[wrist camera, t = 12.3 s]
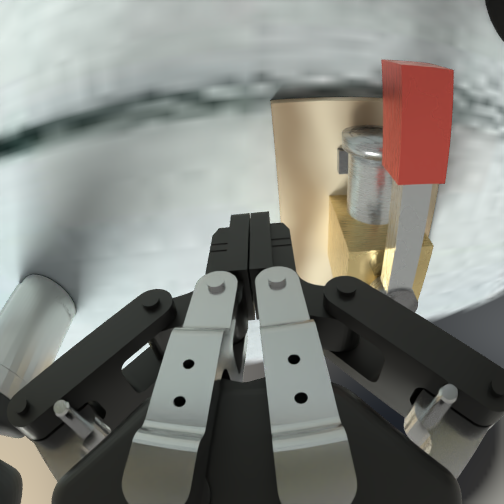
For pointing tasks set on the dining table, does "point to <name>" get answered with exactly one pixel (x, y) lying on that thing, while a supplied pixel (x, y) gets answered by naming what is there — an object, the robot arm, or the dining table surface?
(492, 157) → the dining table surface
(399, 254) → the lever
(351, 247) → the valve
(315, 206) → the mounting board
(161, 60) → the dining table surface
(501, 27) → the wine glass
